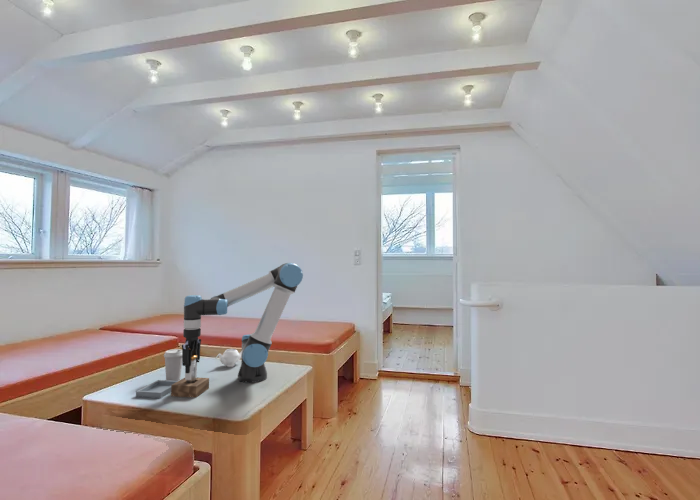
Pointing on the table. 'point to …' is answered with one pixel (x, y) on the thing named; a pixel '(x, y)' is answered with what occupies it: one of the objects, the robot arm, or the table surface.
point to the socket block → (190, 388)
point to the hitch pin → (193, 370)
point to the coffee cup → (173, 364)
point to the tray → (156, 389)
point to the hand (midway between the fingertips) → (190, 377)
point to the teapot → (230, 357)
